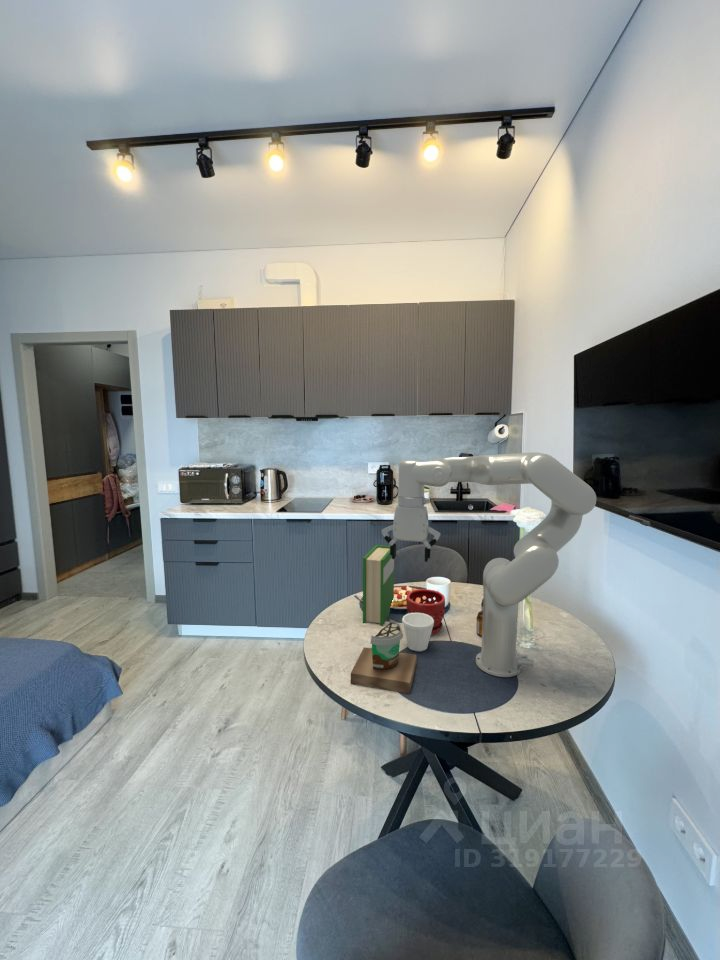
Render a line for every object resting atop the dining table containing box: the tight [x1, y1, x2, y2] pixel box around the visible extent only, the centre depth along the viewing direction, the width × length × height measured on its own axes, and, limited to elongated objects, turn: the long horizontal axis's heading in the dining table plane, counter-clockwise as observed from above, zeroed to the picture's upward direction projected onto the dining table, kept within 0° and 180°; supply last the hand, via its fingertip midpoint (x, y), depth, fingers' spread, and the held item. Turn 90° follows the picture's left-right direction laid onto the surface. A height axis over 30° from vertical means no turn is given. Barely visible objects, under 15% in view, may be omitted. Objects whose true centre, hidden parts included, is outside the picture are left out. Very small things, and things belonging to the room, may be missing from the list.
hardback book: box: [362, 544, 395, 627], centre depth 151 cm, size 18×7×24 cm, turn 163°
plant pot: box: [406, 588, 446, 635], centre depth 140 cm, size 13×13×12 cm
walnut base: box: [350, 647, 418, 695], centre depth 114 cm, size 16×14×3 cm
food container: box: [370, 619, 404, 670], centre depth 113 cm, size 12×6×10 cm, turn 149°
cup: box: [401, 613, 434, 653], centre depth 128 cm, size 10×10×9 cm
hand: (410, 559), depth 120 cm, fingers open, 9 cm apart
